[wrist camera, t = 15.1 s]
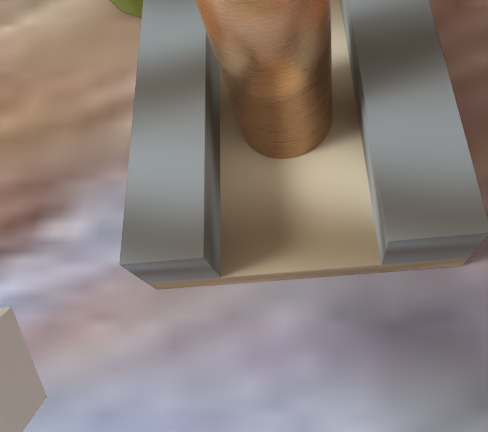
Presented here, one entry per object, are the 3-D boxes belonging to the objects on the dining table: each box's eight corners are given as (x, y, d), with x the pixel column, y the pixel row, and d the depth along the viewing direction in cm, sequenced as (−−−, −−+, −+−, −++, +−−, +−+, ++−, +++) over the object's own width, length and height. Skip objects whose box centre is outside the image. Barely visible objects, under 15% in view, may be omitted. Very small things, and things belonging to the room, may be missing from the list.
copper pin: (222, 127, 20) (85, -201, 9) (281, 67, 21) (218, -308, 10) (291, 176, 18) (224, -150, 7) (351, 109, 19) (372, -282, 8)
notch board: (461, 266, 17) (491, 232, 14) (156, 289, 19) (119, 264, 15) (399, -3, 22) (409, -71, 19) (169, 36, 24) (144, -20, 21)
